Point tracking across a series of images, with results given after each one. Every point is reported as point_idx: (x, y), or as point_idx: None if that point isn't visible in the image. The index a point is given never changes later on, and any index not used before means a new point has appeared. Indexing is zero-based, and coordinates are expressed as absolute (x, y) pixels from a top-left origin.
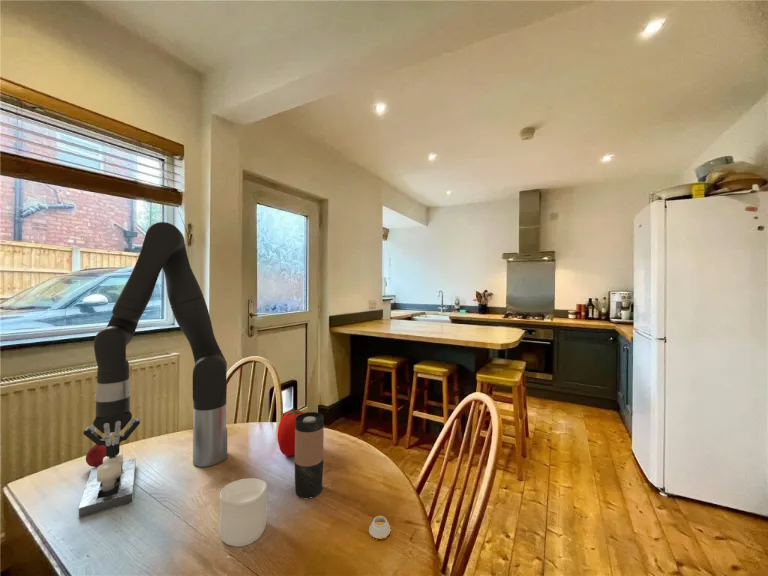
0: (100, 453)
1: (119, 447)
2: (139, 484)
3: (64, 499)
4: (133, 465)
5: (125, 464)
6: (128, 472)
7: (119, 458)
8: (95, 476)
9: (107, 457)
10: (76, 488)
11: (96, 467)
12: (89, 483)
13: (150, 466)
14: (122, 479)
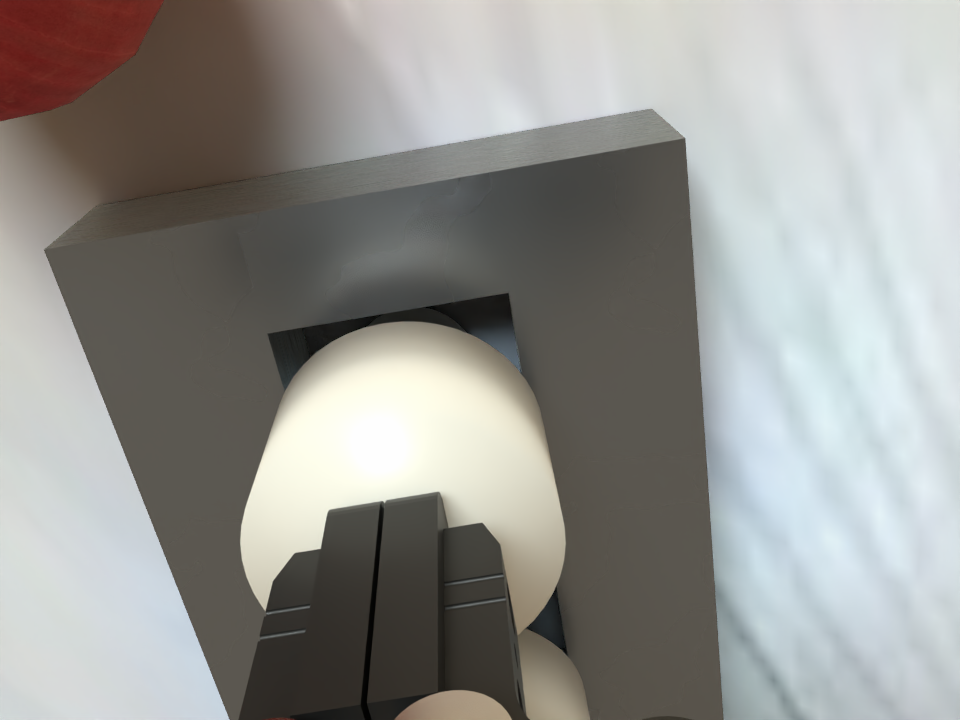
0: (7, 100)
1: (508, 611)
2: (746, 610)
3: (52, 622)
4: (681, 402)
5: (557, 325)
6: (643, 574)
7: (529, 612)
8: (233, 525)
9: (306, 544)
10: (53, 447)
11: (111, 250)
12: (238, 670)
13: (858, 217)
14: (603, 706)
